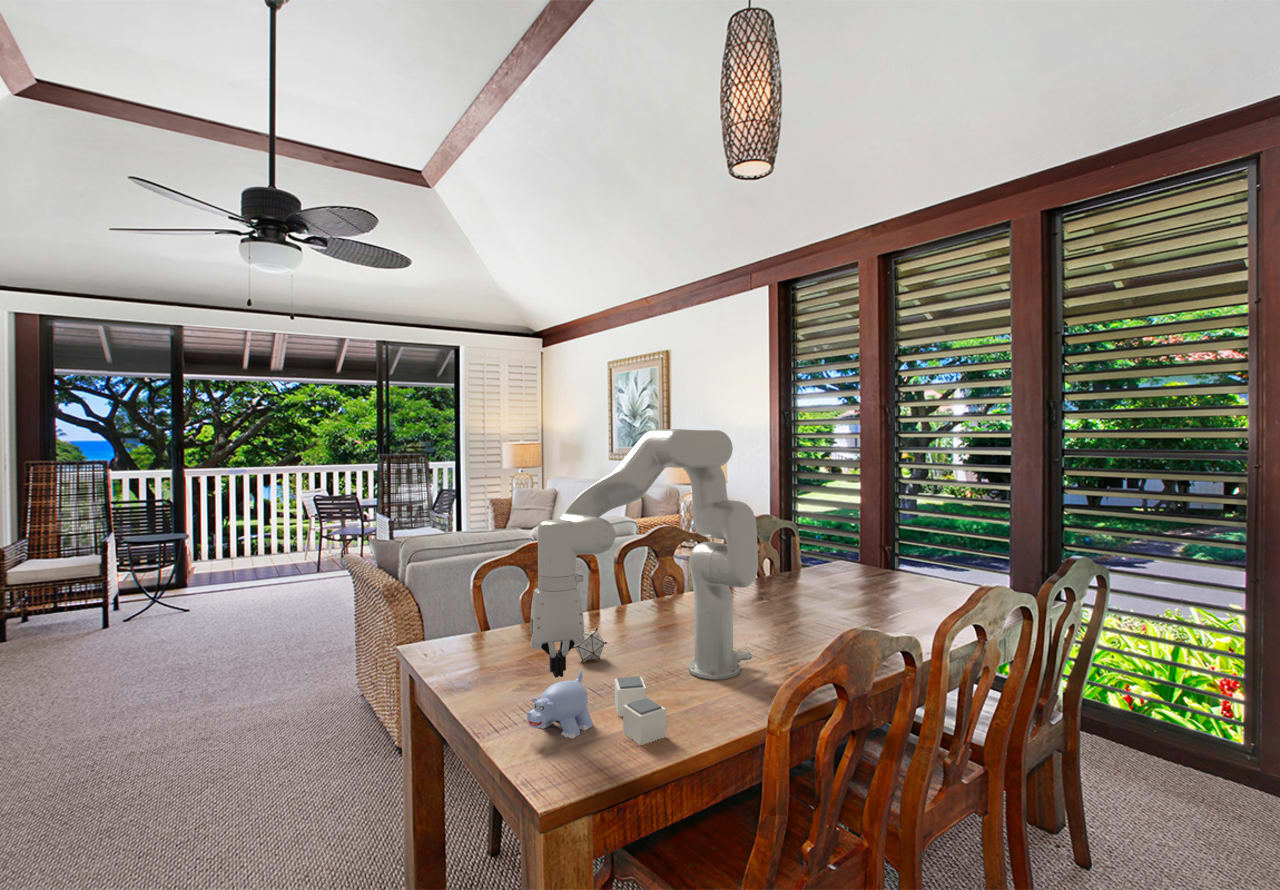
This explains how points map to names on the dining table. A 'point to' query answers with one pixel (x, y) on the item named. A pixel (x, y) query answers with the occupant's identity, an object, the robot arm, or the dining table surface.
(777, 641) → the dining table surface
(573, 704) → the hippopotamus toy
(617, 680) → the block three
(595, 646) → the game die
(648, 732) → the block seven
